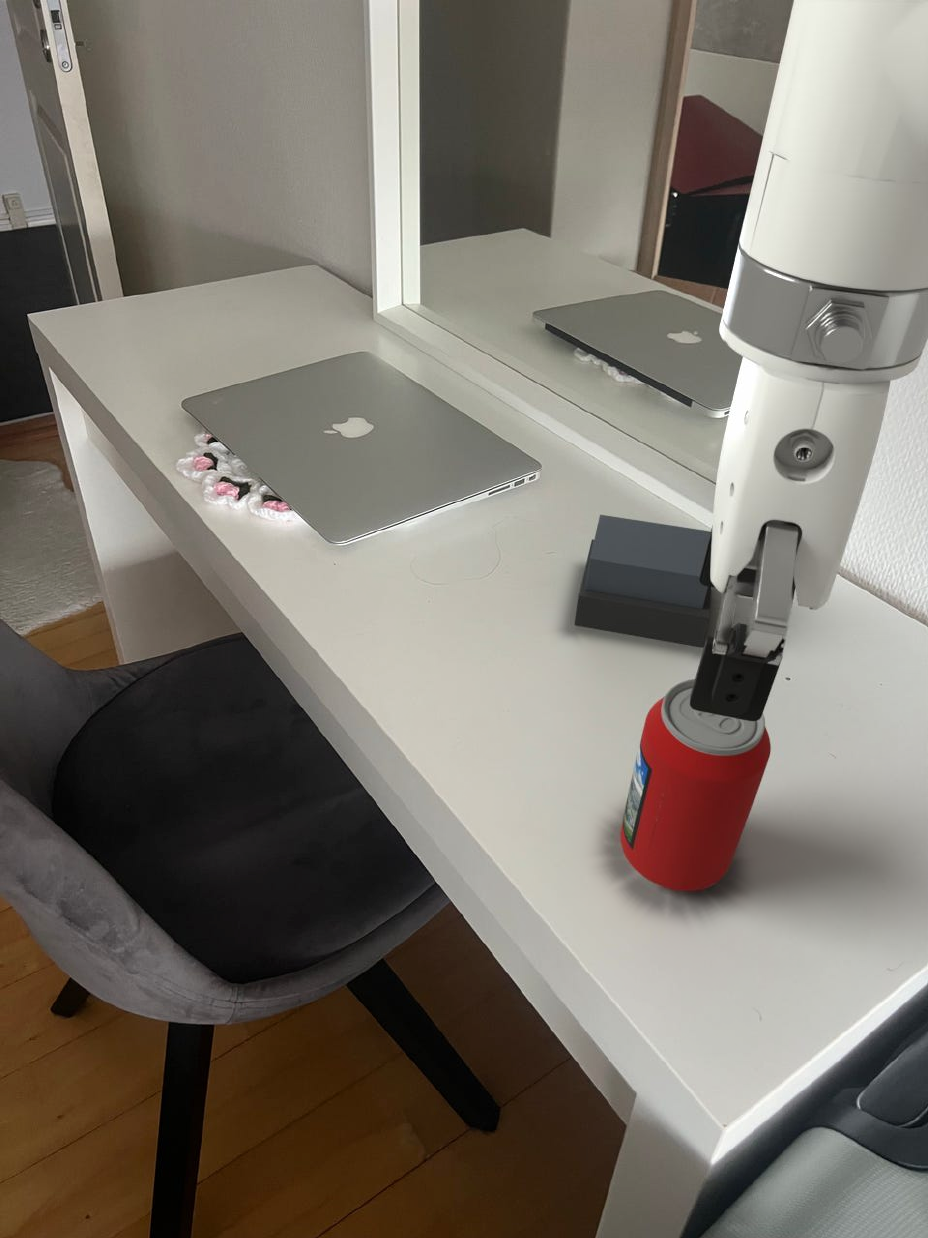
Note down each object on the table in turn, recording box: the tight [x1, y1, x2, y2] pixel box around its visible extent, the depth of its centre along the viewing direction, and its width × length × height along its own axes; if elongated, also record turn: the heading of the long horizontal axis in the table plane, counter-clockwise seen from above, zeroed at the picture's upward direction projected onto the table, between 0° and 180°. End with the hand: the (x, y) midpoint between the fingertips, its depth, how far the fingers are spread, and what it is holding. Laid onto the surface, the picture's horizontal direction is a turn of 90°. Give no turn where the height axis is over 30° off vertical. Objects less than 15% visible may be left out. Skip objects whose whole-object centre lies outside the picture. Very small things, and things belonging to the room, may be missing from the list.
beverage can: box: [619, 678, 772, 892], centre depth 52 cm, size 7×7×12 cm
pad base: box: [574, 538, 712, 648], centre depth 74 cm, size 10×8×3 cm
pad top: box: [585, 514, 711, 609], centre depth 72 cm, size 9×6×3 cm
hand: (726, 644), depth 46 cm, fingers open, 9 cm apart
